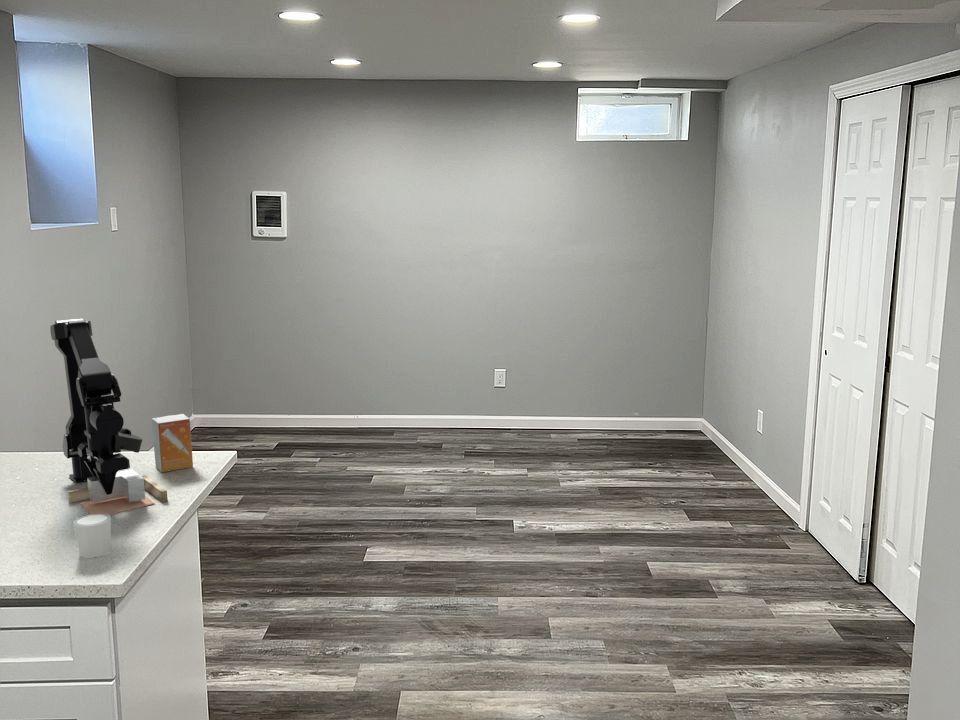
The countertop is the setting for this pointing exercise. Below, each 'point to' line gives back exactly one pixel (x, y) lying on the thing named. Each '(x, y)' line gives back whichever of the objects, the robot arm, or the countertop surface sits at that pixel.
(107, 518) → the shot glass
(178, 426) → the small box
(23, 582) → the countertop surface
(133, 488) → the bracket
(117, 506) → the pad
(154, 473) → the countertop surface
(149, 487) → the tan corner rail
